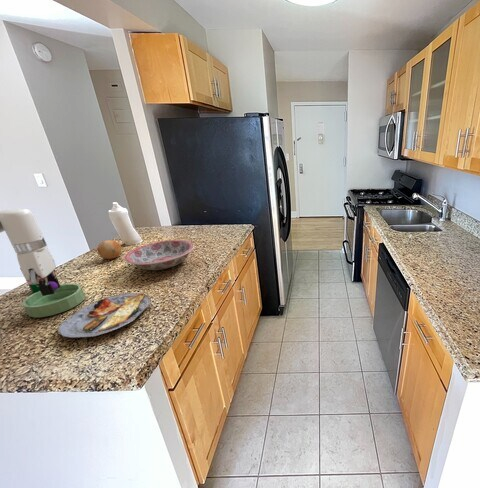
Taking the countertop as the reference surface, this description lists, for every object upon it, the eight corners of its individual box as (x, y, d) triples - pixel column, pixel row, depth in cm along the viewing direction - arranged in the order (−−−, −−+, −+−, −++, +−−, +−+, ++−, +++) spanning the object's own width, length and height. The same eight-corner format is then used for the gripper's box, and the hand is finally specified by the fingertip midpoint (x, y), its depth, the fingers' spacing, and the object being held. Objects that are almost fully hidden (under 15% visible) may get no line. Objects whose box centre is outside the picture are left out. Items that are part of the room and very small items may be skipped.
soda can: (28, 292, 107) (15, 265, 102) (43, 285, 111) (31, 260, 107) (37, 293, 105) (24, 267, 101) (52, 287, 110) (40, 261, 105)
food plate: (101, 298, 102) (98, 291, 100) (162, 296, 103) (160, 288, 102) (41, 345, 79) (36, 336, 77) (121, 341, 80) (118, 332, 79)
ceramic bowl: (176, 249, 147) (173, 236, 144) (209, 260, 133) (206, 246, 130) (117, 270, 124) (112, 254, 121) (149, 286, 110) (144, 269, 107)
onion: (109, 263, 131) (103, 245, 127) (96, 260, 134) (89, 242, 130) (128, 255, 139) (123, 238, 136) (115, 253, 142) (109, 236, 139)
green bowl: (18, 323, 88) (11, 311, 86) (41, 299, 101) (36, 288, 99) (76, 311, 94) (71, 300, 92) (91, 290, 107) (87, 280, 105)
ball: (42, 295, 93) (37, 286, 91) (47, 290, 96) (43, 280, 95) (56, 293, 94) (52, 283, 93) (61, 287, 98) (57, 278, 96)
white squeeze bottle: (132, 246, 151) (119, 204, 142) (114, 246, 151) (100, 204, 142) (145, 239, 162) (134, 200, 153) (129, 239, 162) (116, 200, 153)
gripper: (29, 239, 94) (49, 283, 101) (-1, 256, 80) (25, 306, 87) (55, 236, 97) (74, 278, 104) (31, 252, 83) (54, 300, 90)
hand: (51, 290), depth 95 cm, fingers closed on ball, 3 cm apart
